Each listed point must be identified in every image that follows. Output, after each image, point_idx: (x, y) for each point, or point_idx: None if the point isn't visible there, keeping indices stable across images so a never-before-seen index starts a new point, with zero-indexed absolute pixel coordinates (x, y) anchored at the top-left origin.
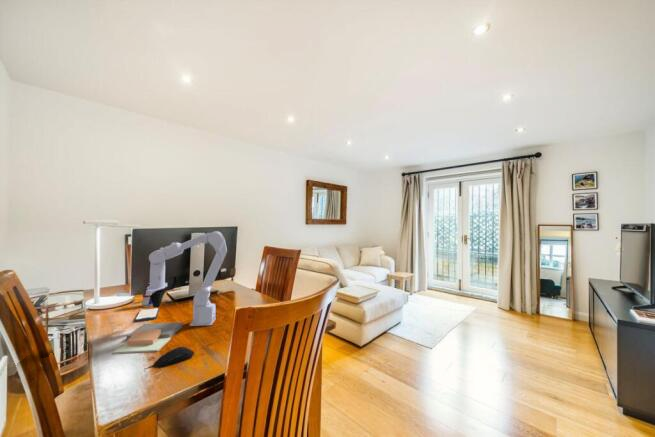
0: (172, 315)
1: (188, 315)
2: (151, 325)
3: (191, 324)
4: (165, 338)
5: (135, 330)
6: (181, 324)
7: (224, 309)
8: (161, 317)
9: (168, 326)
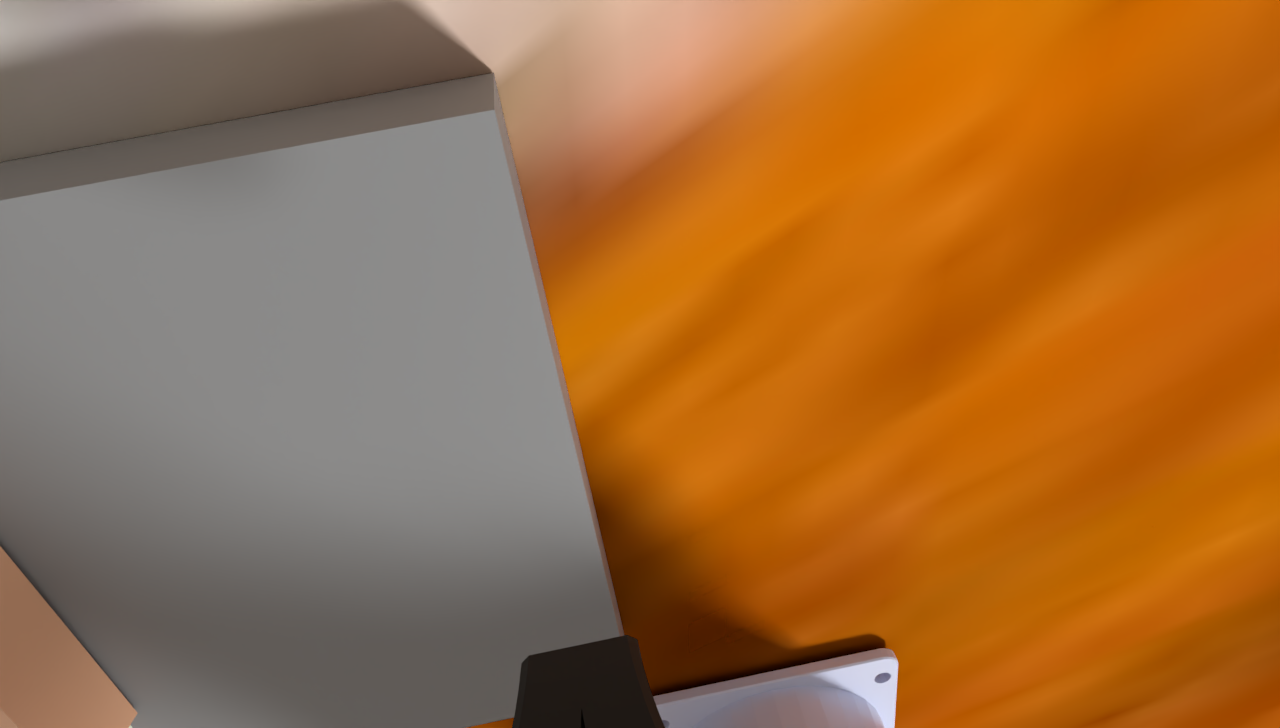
0: (1227, 182)
1: (1125, 457)
2: (427, 348)
3: (669, 716)
4: None
5: (70, 212)
6: None
7: (1234, 725)
8: (1167, 8)
9: (442, 629)
